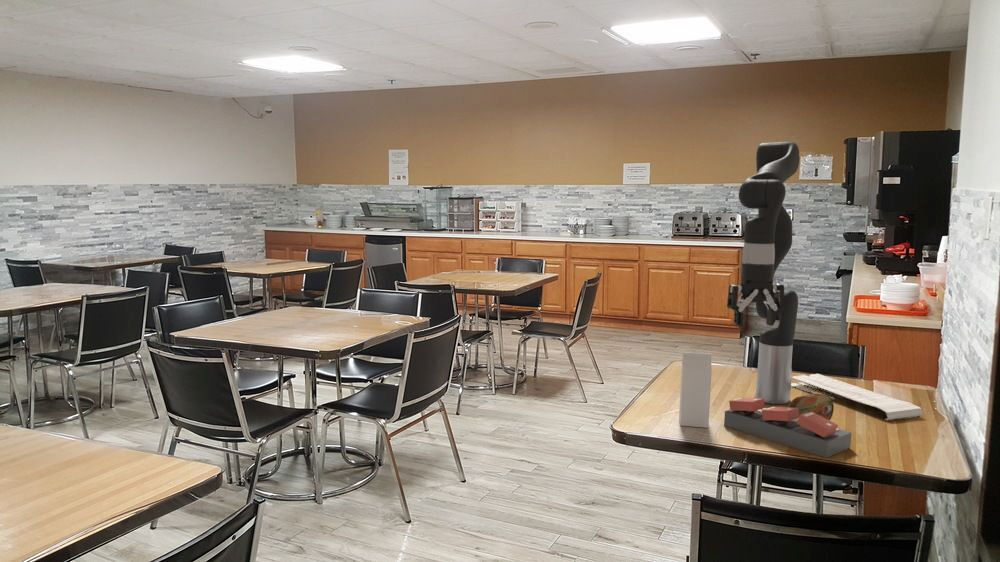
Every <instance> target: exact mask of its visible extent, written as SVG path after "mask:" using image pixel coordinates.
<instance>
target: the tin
mask: <svg viewBox="0 0 1000 562" xmlns="http://www.w3.org/2000/svg"><path fill="white" fill-rule="evenodd" d="M825 394H826V393H824V394H818V393H817V394H811V393H810V394H807V395H802V396H801V395H800V396H797V397H795V398H793V399H792V400H791V401H790V403H789V404H788V407H791V408H798V410H799V416H800V415H801V414H804V413H807V412H810V411H811V412H813V413H815V414H818V415H820V416H822V417H824V418H826V419H828V420H830V421H831V419H832V417H833V414H834V407H835V406H834V402H833V399H831V398H830V397H829V396H830V395H829V394H827V395H825ZM828 395H829V396H828Z"/></svg>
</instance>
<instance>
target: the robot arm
mask: <svg viewBox="0 0 1000 562" xmlns="http://www.w3.org/2000/svg"><path fill="white" fill-rule="evenodd" d="M800 157H801V156H800V149H799V146H798V145H797V143H795V142H793V141H778V142H777V141H774V142H762V143H760V144H758V147H757V149H756V156H755V158H756V159H755V161H756V167H755V168H756V174H754V175H752V176H749V177H747V179H745V180H744V181H743V182H742V184H741V185H740V187H739V191H738V199H739V200H738V201H739V203H740V204H741V205H742V206H743V207H745V208H747V209H757V210H758V211H757V212H758V214H757V215H758V216H757V217H754V218H750V219H747V220H746V221H745V225H744V237H743V238H744V239H743V240H744V241H743V248H742V255H741V257H742V258H741V259H742V260H741V277H740V278H741V284H740V285H735V284H730V285H729V287H728V294H727V303H726V307H727V309H730V310H733V323H734V324H735V327H737V328H742V327H743V325H744V310H745V309H746V307H747V306H749V304H750V303H755V309H756V310H755V311H756V315H757V316H758V317H759V318H761V319H765V320H766V322H765V324H766V325H768V326H772V327H773V326H774V325H775V323H776V321H777V322H778V326H777V327H776V328H773V329H772V328H771V329H768V330H763V331H761V332H760V334H759V342H758V359H757V361H758V362H757V372H756V387H755V398H761V399H764V403H765V404H770V405H771V404H772V405H784V404H785V405H786V404H788V403H789V402H790V400H791V388H792V386H791V383H792V378H791V377H793V374H792V373H793V369H792V361H793V360H792V359H793V347H794V337H795V333H796V324H797V316H798V310H799V297H798V294H797V292H796V291H794V290H792V289H785V285H784V284H782V283H775V284H774V277H775V273H776V271H777V269H778V267H779V266H780V264H781V263H782V261H784V259H785V257H786V256H787V255H788V253H789V251H790V249H791V247H792V244H793V220H792V219H791V216H790V215H789V213H788V211H787V210H786V208H785V207H784V205H783V203H784V200H785V198H786V190H787V189H786V186H785V184H784V183H785V181H788V180H789V179H790V178H791V177H793V176H794V174H795V173H797V172H798V169H799V166H800ZM740 293H741V295H740V296H739V294H740ZM738 296H739V298H738Z"/></svg>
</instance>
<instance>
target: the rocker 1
mask: <svg viewBox="0 0 1000 562" xmlns="http://www.w3.org/2000/svg"><path fill="white" fill-rule="evenodd" d="M728 402H729V410H740V411H756V410H760V409H763V408H766V405H765V404H766V403H765V402H764V399H761V398H756V397H738V398H735V399H731V400H729V401H728Z"/></svg>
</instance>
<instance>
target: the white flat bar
mask: <svg viewBox="0 0 1000 562" xmlns="http://www.w3.org/2000/svg"><path fill="white" fill-rule="evenodd" d="M791 379H792V380H796V381H798V382H797V383H795V382H791V387H793V388H795V387H796V388H795V389H798V390H801V391H803V390H804V392H806V391H807V392H806V393H808V392H811V391H813V392H816V391H817V390H816V389H817V387H818V389H820V388H821V390H823V389H824V390H823V391H826V390H827V391H826V392H829V393H831V394H834V395H837V396H839V397H844V398H846V399H848V400H852V401H855V402H858V403H860V404H864V405H867V406H870V407H874V408H877V409H879V410H881V411H882V412H883V413H886V414H885V415H886V417H887V418H885V419H884V421H885V420H889V421H895V420H894V419H897V420H903V419H902V418H906V419H910V418H909V417H914V418H917V417H916V416H920V417H922V416H923V415H924V412H923V410H922V408H921V407H920V406H918V405H916V404H913V403H911V402H910V401H909V402H908V401H903V400H900V399H896V398H895V397H890V396H887V395H884V394H881V393H878V392H875V391H872V390H868V389H865V388H862V387H861V386H857V385H853V384H850V383H848V382H844V381H841V380H839V379H835V378H832V377H829V376H826V375H823V374H820V373H815V374H814V373H811V374H809V376H808V375H804V374H801V375H792V377H791ZM801 384H802V385H801ZM809 384H810V385H809ZM804 385H806V386H804ZM812 385H813V386H812ZM807 386H809V387H808V388H807ZM814 386H815V387H814ZM810 387H812V388H810ZM813 388H816V389H813ZM812 389H813V390H812ZM815 390H816V391H815Z"/></svg>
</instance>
